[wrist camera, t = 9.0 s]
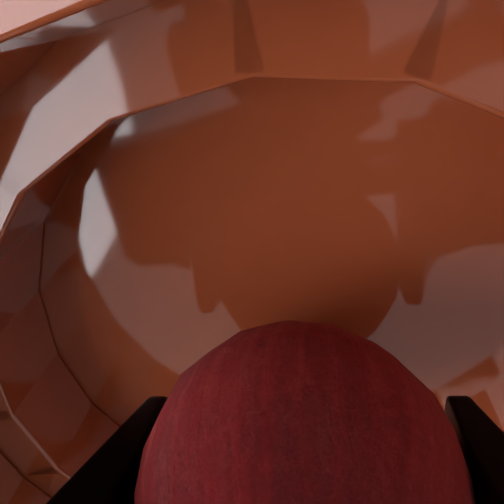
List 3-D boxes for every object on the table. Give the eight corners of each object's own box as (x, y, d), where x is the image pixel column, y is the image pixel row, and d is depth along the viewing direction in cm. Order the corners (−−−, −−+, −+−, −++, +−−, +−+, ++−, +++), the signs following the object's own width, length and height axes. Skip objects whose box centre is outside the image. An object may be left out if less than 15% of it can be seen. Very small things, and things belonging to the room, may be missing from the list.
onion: (206, 413, 13) (90, 874, 6) (175, 247, 10) (-106, 776, 3) (409, 424, 12) (526, 967, 5) (439, 247, 9) (775, 948, 3)
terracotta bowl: (855, 312, 10) (1285, 571, 5) (326, 557, 18) (330, 736, 14) (217, -388, 6) (-69, -1500, 1) (-83, 341, 14) (-258, 496, 10)
